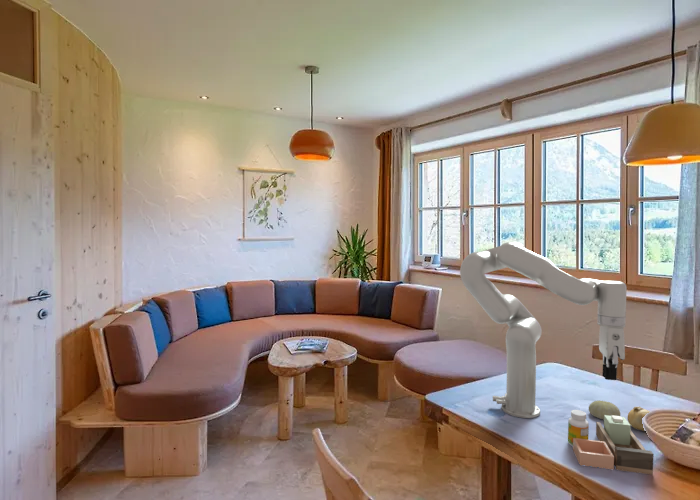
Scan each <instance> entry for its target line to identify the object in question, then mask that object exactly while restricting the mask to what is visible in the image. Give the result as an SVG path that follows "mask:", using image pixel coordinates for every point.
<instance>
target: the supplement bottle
mask: <svg viewBox="0 0 700 500" xmlns="http://www.w3.org/2000/svg"><path fill="white" fill-rule="evenodd" d="M567 420H568V423H567V424H568V426H567V443H568V444H569V445H570V446H571V447H573V438H578V439H587V440H589V434H590V433H589V431H590V429H589V428H590V426H589V425H590V424H589V421H588V420H587V413H586V412H585V411H583V410H580V409H572V410H570V417H569V418H568V419H567Z"/></svg>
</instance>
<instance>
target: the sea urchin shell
mask: <svg viewBox="0 0 700 500" xmlns="http://www.w3.org/2000/svg"><path fill="white" fill-rule="evenodd" d="M588 412H589V414H590V415H591V416H593V417H595V418H598V419H600V420H602V421H604V415H608V416H611V415H614V416H621V410H620V409H619V408H618V406H616V404H614V403H612V402H609V401H605V400H594V401H592V402H591V403H590V404H589V405H588Z"/></svg>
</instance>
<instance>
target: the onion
mask: <svg viewBox="0 0 700 500" xmlns="http://www.w3.org/2000/svg"><path fill="white" fill-rule="evenodd" d="M649 412H651V411H650V410H649V409H645V408H644V407H641V406H634V407H633V408H632V409H631V410H630V411H628V413H627V416H626V417H627V421H628V422H629V424H630V425H631V427H632V428H634V429H635V430H639V431H643V432H645V431H644V428H643V424H642V418H643V417H644V416H645V415H646V414H647V413H649Z"/></svg>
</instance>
